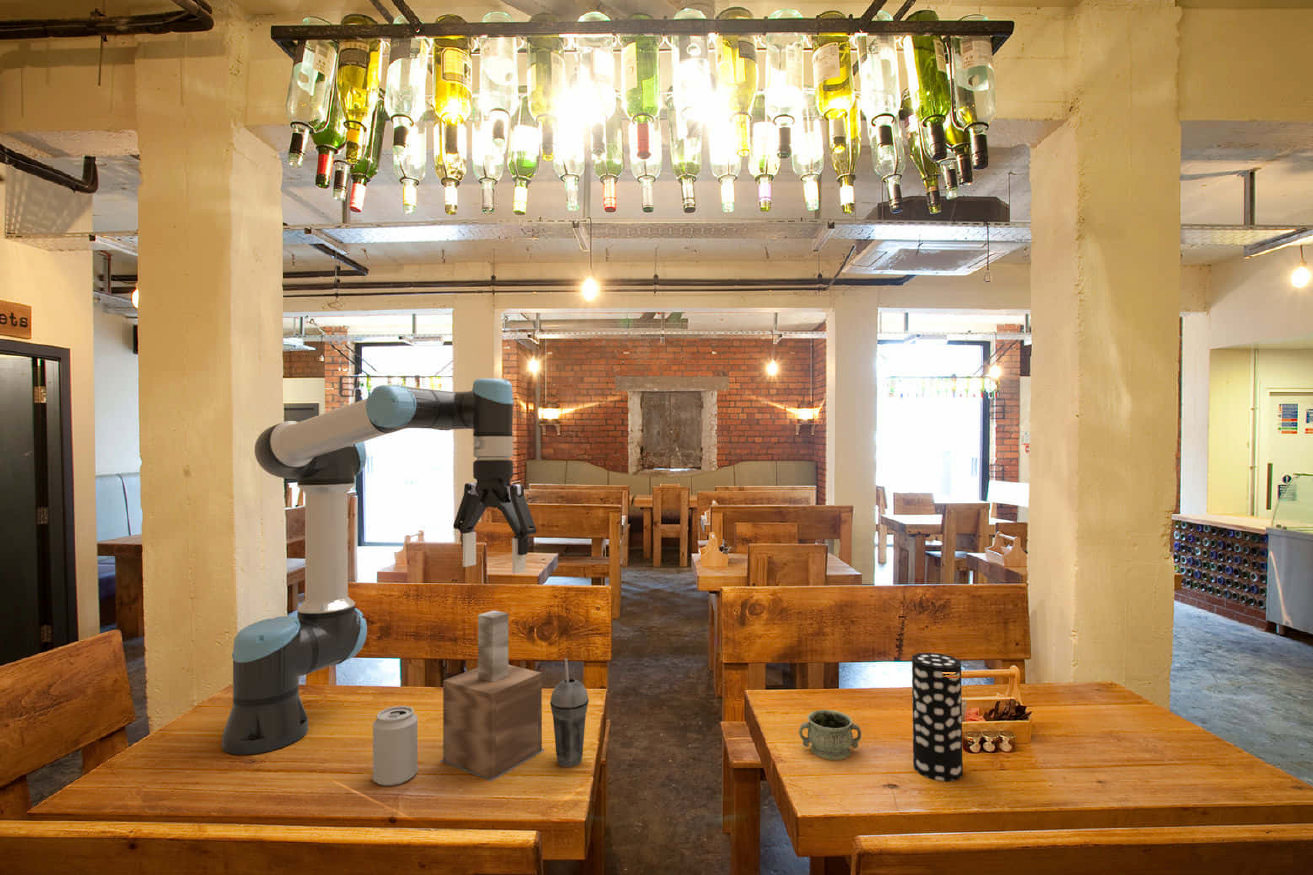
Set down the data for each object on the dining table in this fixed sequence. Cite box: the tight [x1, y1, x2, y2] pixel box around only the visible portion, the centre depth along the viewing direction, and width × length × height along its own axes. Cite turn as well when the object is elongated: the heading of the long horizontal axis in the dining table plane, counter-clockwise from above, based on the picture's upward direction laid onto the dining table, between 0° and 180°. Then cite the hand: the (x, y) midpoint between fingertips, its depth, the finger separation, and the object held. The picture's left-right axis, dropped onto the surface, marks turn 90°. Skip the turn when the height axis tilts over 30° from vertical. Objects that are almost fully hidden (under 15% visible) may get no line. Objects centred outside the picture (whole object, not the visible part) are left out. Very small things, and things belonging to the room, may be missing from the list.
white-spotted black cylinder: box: [911, 652, 964, 782], centre depth 117 cm, size 8×8×20 cm
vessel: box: [798, 709, 862, 761], centre depth 125 cm, size 12×9×6 cm
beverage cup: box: [549, 657, 590, 768], centre depth 120 cm, size 7×7×20 cm
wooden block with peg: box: [442, 610, 543, 779], centre depth 123 cm, size 13×13×27 cm
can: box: [372, 705, 418, 787], centre depth 115 cm, size 8×8×12 cm
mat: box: [439, 748, 546, 782], centre depth 123 cm, size 14×14×1 cm
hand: (493, 569), depth 123 cm, fingers open, 13 cm apart
